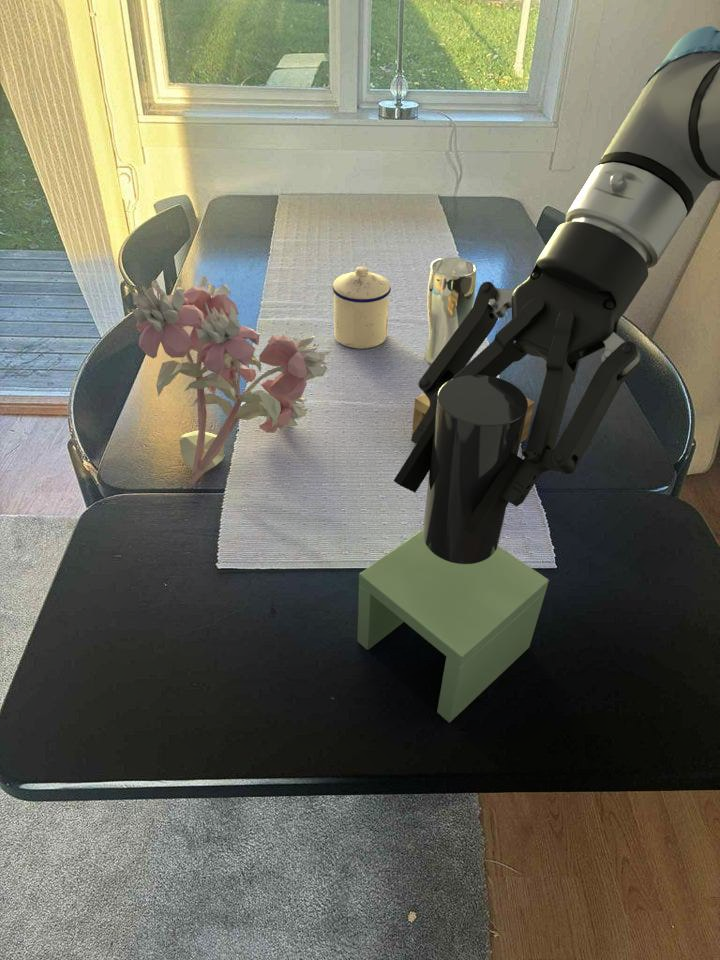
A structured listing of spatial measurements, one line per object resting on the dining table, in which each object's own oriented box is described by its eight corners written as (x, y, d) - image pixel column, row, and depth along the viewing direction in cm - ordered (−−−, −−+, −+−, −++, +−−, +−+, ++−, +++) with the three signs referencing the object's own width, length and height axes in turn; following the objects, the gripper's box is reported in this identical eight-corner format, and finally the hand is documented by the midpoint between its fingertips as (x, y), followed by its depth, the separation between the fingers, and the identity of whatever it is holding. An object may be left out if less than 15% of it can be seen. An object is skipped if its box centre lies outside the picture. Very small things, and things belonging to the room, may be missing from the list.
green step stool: (529, 647, 69) (549, 579, 62) (449, 723, 62) (462, 657, 56) (438, 578, 75) (447, 511, 69) (357, 641, 69) (358, 573, 62)
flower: (325, 510, 81) (342, 286, 74) (124, 500, 78) (124, 267, 72) (318, 468, 100) (331, 288, 94) (156, 459, 97) (159, 272, 91)
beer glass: (417, 348, 112) (424, 257, 102) (458, 344, 113) (470, 255, 103) (428, 371, 107) (436, 278, 97) (471, 367, 108) (484, 275, 98)
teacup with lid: (399, 339, 114) (403, 271, 106) (354, 356, 110) (355, 286, 102) (356, 311, 121) (357, 245, 114) (312, 325, 117) (310, 258, 109)
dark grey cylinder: (514, 538, 59) (546, 400, 50) (465, 577, 56) (489, 437, 46) (456, 500, 62) (476, 364, 53) (406, 534, 59) (419, 396, 50)
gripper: (484, 183, 54) (327, 439, 56) (731, 263, 43) (526, 575, 45) (515, 233, 60) (373, 462, 62) (737, 314, 49) (557, 586, 51)
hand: (438, 509), depth 54 cm, fingers closed on dark grey cylinder, 6 cm apart
